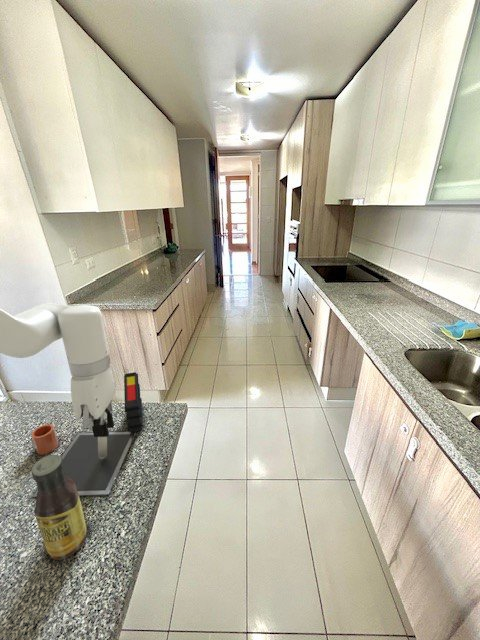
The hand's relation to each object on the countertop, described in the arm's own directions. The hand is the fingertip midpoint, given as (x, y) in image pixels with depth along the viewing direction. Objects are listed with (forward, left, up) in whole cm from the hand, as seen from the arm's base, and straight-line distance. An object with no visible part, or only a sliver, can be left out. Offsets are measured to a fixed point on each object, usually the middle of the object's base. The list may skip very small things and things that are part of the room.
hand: (104, 430), depth 61 cm
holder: (-18, +5, -10) cm, 21 cm away
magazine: (+2, +14, -10) cm, 17 cm away
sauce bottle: (0, -17, -10) cm, 20 cm away
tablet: (-5, 0, -10) cm, 11 cm away
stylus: (-2, 0, -8) cm, 9 cm away
